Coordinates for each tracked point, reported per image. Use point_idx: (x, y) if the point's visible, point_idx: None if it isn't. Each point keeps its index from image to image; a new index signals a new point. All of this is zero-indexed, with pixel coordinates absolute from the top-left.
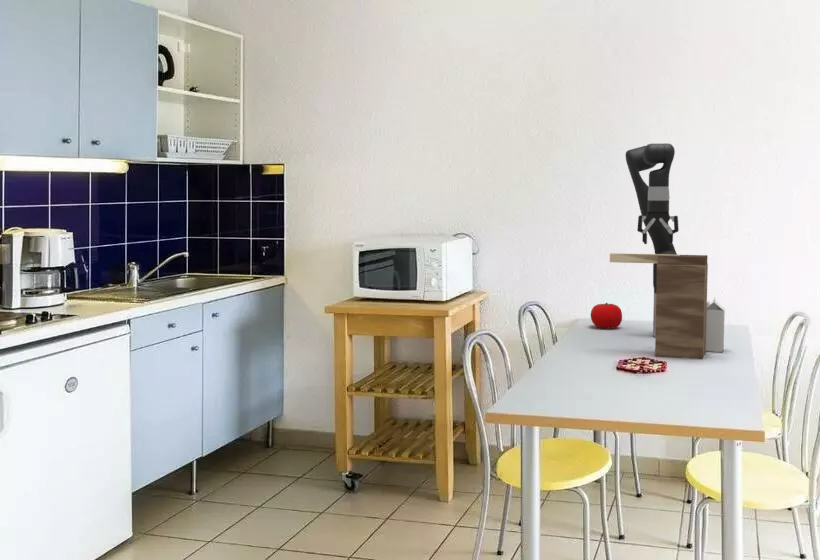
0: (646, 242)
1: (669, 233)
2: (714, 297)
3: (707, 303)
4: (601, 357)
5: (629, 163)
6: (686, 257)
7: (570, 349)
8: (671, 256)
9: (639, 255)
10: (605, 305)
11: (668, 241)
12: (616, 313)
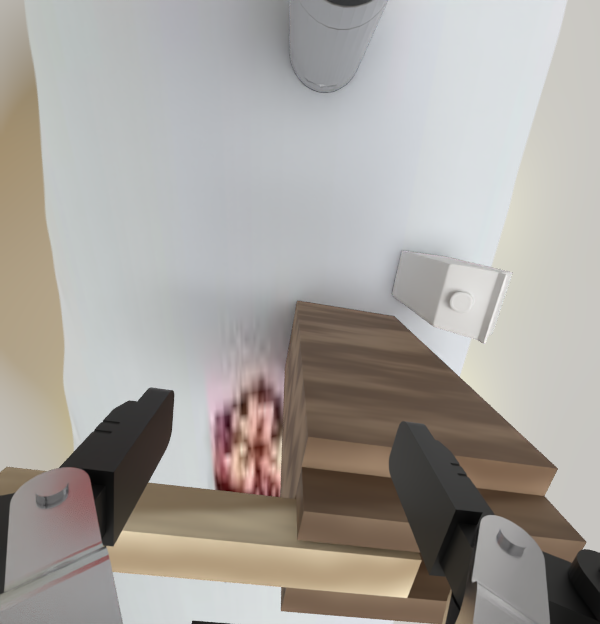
0: (166, 427)
1: (450, 579)
2: (501, 289)
3: (459, 312)
4: (178, 396)
5: None
6: (435, 617)
7: (95, 314)
8: (357, 615)
9: (169, 569)
10: None
11: (397, 492)
12: None
